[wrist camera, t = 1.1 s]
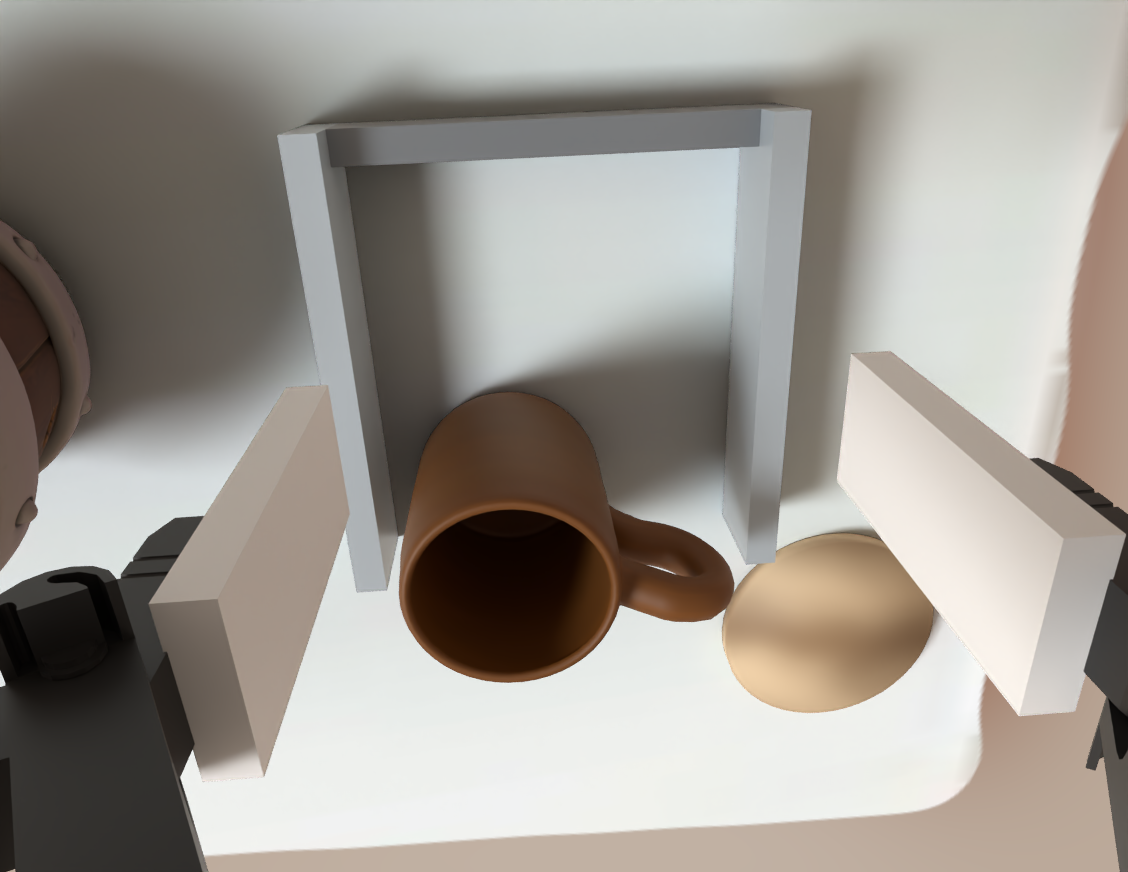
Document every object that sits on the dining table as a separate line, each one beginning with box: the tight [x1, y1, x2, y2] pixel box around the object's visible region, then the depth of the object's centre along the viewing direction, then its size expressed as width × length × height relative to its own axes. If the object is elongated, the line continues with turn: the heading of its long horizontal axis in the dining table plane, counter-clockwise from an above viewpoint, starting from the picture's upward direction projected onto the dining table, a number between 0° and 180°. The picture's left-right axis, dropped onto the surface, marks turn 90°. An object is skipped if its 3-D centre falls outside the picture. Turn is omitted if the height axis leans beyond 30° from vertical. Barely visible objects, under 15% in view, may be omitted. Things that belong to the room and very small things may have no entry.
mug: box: [399, 392, 734, 683], centre depth 32 cm, size 12×8×9 cm, turn 80°
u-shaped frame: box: [277, 103, 812, 592], centre depth 32 cm, size 17×17×4 cm
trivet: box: [722, 533, 933, 713], centre depth 40 cm, size 10×10×1 cm
